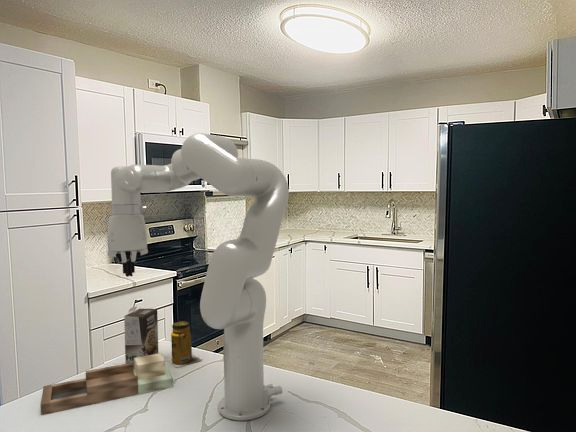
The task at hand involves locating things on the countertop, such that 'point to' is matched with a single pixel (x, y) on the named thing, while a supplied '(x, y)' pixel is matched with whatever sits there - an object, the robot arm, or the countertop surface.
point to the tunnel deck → (100, 388)
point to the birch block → (149, 366)
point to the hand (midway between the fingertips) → (128, 275)
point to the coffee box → (140, 334)
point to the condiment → (182, 345)
